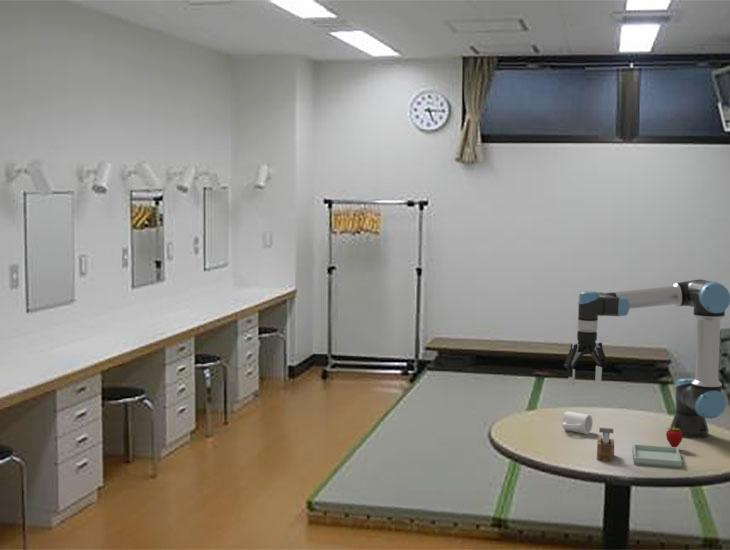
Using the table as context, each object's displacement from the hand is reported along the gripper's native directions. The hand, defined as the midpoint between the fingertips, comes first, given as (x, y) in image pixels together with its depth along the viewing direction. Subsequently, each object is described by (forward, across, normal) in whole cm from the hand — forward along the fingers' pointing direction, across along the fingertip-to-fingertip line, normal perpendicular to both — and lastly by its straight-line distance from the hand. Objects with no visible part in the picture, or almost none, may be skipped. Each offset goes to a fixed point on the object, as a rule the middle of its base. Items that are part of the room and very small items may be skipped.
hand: (584, 384), depth 371 cm
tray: (+24, -10, +29) cm, 39 cm away
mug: (+24, -8, -14) cm, 29 cm away
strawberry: (+24, -27, +22) cm, 42 cm away
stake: (+24, +5, +19) cm, 31 cm away
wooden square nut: (+24, +5, +19) cm, 31 cm away
